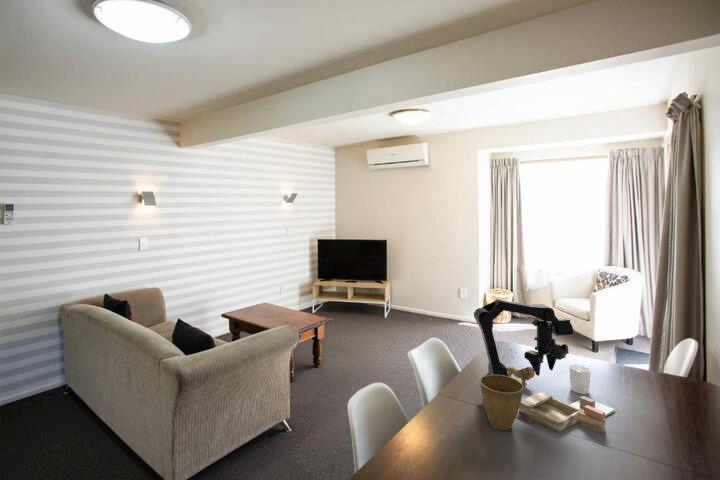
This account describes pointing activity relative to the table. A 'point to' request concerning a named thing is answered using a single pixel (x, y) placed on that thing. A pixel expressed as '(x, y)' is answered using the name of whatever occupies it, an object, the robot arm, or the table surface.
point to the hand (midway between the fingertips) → (544, 372)
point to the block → (594, 412)
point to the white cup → (579, 378)
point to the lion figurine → (522, 373)
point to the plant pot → (501, 399)
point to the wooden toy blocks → (557, 413)
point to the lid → (592, 405)
